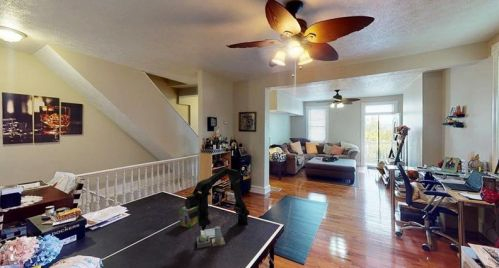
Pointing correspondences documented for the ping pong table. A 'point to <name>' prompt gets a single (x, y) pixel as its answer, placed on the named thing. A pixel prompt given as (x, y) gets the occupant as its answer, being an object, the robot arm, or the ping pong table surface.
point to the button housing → (203, 244)
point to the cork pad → (218, 243)
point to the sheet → (209, 233)
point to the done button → (203, 238)
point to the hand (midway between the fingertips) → (203, 230)
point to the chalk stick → (217, 234)
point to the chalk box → (187, 218)
